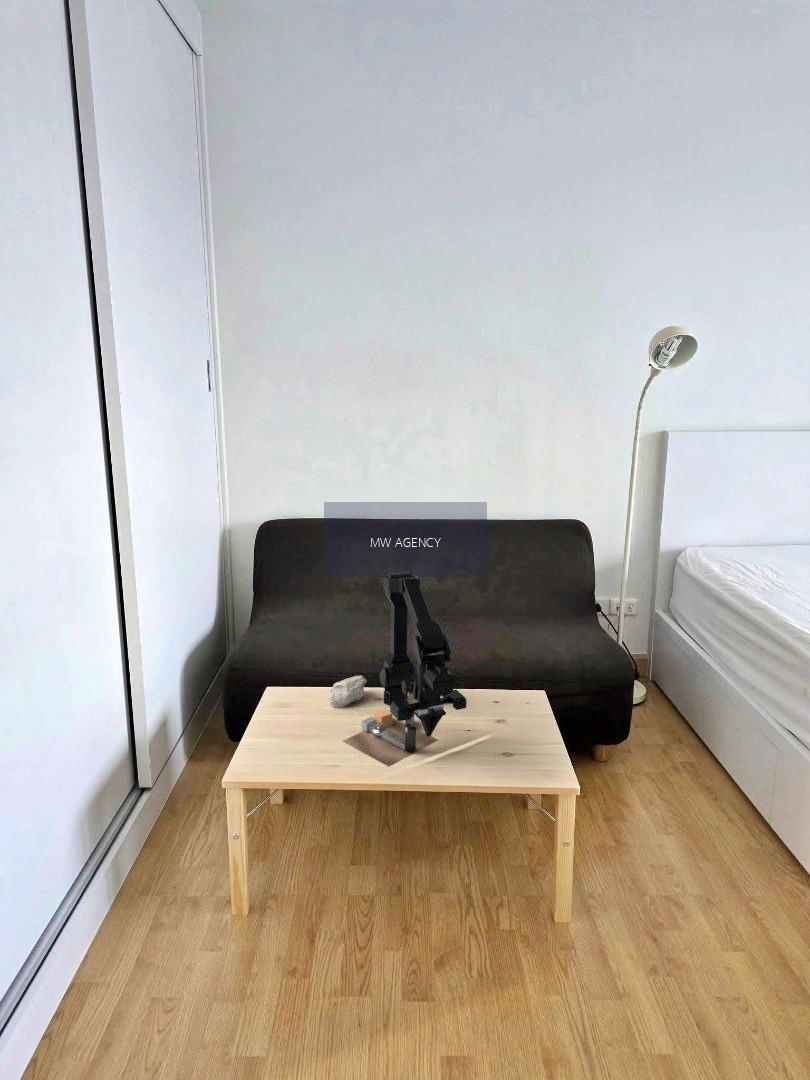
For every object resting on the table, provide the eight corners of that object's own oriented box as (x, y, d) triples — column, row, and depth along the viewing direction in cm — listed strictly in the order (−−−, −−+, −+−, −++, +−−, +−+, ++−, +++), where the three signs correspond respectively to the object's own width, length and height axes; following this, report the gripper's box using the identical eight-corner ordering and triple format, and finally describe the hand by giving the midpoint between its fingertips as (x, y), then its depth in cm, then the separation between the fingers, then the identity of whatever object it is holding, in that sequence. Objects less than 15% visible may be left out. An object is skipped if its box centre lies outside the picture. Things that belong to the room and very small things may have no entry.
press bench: (398, 717, 202) (398, 702, 200) (444, 739, 190) (445, 723, 189) (342, 744, 187) (342, 728, 186) (388, 770, 176) (388, 753, 175)
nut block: (385, 720, 198) (385, 708, 197) (392, 725, 195) (392, 713, 194) (374, 723, 196) (374, 711, 195) (381, 729, 193) (381, 717, 192)
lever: (371, 724, 195) (371, 703, 193) (419, 748, 183) (419, 726, 182) (361, 729, 192) (361, 708, 191) (409, 754, 181) (409, 731, 179)
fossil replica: (321, 710, 206) (354, 718, 203) (321, 684, 203) (355, 692, 200) (338, 689, 217) (370, 697, 214) (339, 664, 214) (371, 672, 211)
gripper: (448, 660, 191) (447, 715, 195) (381, 672, 184) (382, 728, 188) (468, 677, 181) (466, 734, 185) (398, 690, 174) (398, 749, 178)
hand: (428, 735), depth 184 cm, fingers closed
